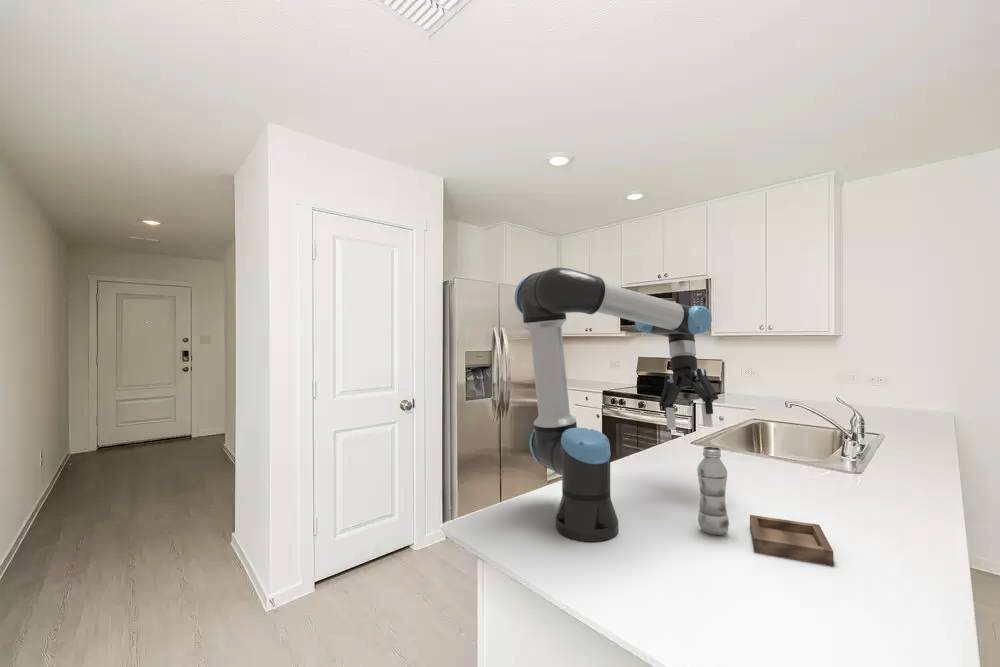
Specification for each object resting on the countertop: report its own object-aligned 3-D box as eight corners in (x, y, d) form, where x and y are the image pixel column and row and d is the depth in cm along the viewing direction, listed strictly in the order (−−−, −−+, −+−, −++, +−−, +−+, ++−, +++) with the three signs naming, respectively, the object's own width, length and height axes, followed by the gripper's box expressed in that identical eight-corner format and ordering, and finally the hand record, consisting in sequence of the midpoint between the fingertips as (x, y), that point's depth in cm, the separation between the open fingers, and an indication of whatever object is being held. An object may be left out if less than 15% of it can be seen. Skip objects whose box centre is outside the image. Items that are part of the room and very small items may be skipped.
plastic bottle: (734, 538, 103) (733, 451, 103) (705, 538, 103) (703, 452, 103) (721, 526, 109) (720, 445, 109) (693, 526, 109) (692, 445, 110)
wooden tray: (754, 552, 96) (753, 538, 96) (749, 527, 109) (749, 514, 109) (833, 566, 90) (833, 551, 90) (819, 537, 103) (819, 524, 103)
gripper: (726, 350, 127) (735, 425, 121) (662, 366, 149) (667, 431, 143) (707, 346, 124) (715, 423, 118) (645, 363, 146) (649, 429, 140)
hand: (689, 428), depth 130 cm, fingers open, 13 cm apart
